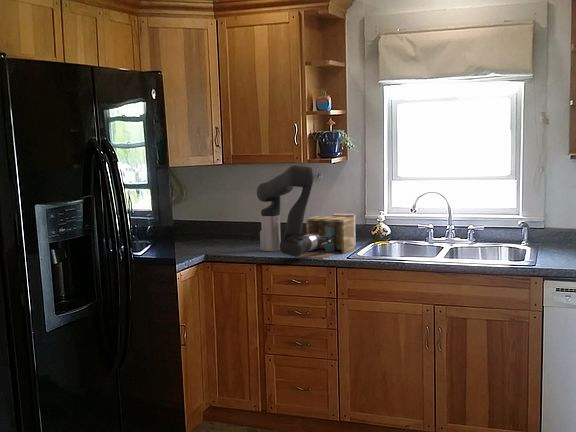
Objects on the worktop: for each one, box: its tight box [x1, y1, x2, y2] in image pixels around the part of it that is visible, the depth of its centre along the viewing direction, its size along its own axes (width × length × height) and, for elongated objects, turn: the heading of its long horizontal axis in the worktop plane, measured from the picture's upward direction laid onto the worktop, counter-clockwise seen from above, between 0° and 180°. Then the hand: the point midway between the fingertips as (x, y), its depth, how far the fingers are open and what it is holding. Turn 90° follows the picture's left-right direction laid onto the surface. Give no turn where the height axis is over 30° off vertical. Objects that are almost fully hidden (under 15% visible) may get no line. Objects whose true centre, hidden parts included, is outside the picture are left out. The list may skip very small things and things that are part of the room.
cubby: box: [306, 215, 355, 255], centre depth 342 cm, size 20×11×16 cm, turn 59°
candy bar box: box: [331, 213, 357, 248], centre depth 354 cm, size 11×5×16 cm, turn 74°
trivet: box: [295, 251, 335, 260], centre depth 330 cm, size 14×12×1 cm
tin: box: [324, 226, 336, 253], centre depth 342 cm, size 5×5×12 cm
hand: (326, 237), depth 339 cm, fingers open, 8 cm apart
